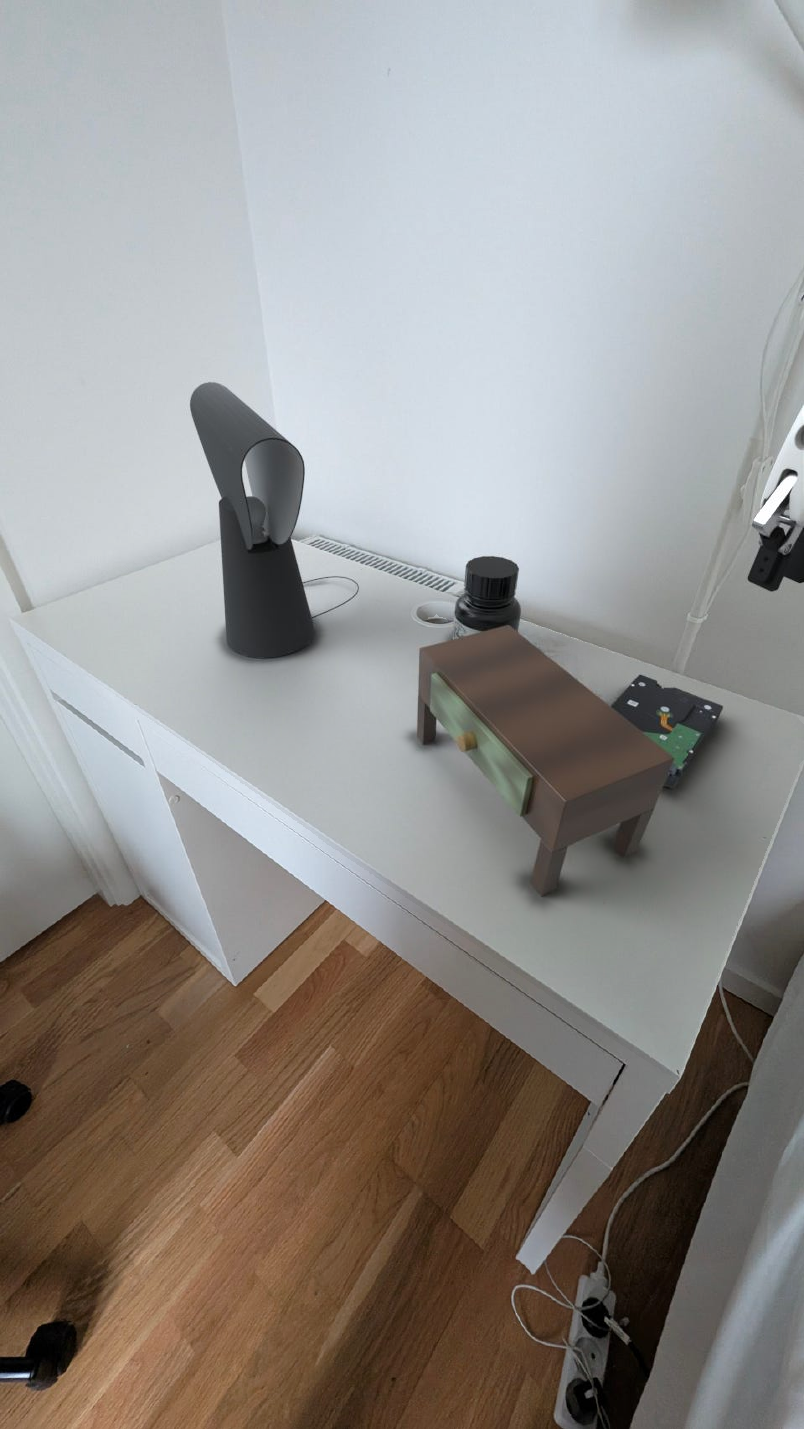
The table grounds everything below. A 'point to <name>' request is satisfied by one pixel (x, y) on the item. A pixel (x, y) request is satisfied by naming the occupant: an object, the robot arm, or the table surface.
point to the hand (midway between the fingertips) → (776, 580)
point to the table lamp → (255, 525)
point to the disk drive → (669, 720)
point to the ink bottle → (487, 597)
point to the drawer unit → (541, 743)
